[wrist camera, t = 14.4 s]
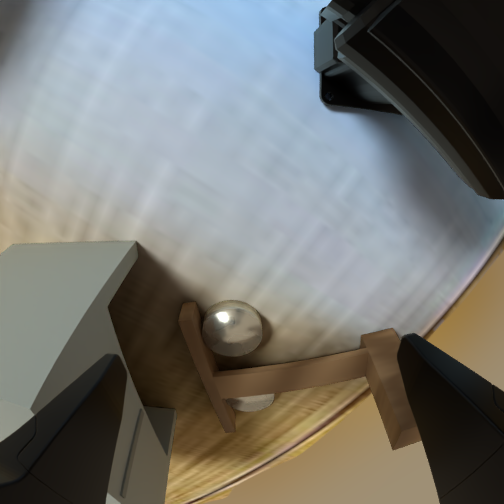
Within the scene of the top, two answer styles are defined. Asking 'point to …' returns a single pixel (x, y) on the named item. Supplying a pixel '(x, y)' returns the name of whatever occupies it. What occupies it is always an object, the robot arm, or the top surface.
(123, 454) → the cabinet
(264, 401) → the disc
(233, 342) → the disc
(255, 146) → the top surface
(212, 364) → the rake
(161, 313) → the top surface
